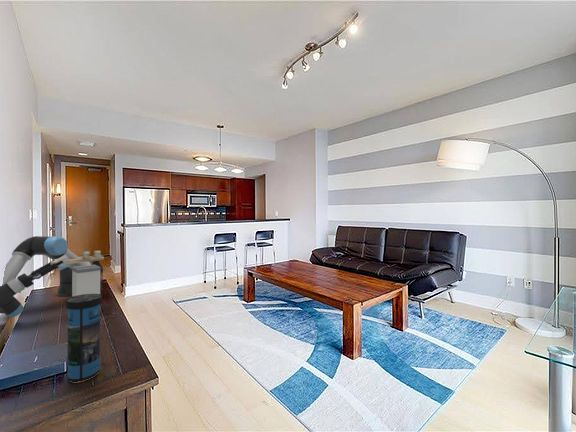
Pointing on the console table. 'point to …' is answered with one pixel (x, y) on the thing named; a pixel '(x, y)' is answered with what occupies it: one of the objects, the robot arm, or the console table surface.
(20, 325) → the console table surface
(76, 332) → the advertising column
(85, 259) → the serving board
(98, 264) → the cola bottle
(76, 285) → the grey-banded white block
